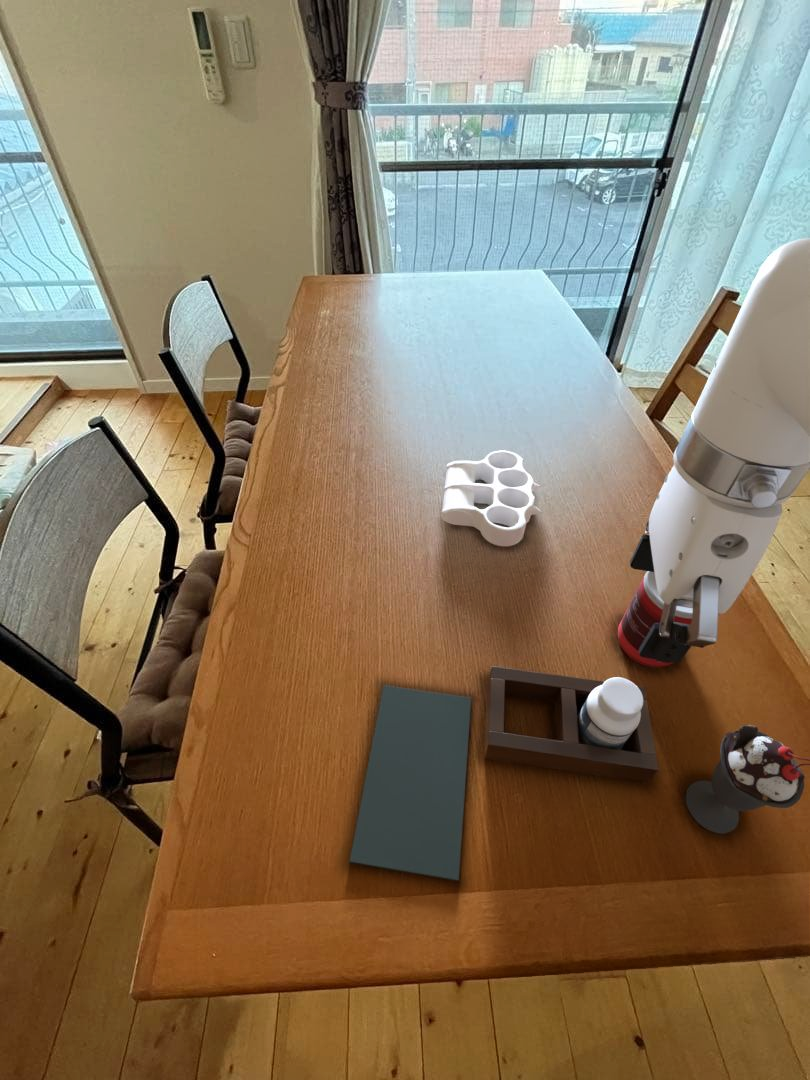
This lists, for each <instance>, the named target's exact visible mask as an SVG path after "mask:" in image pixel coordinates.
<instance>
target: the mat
mask: <svg viewBox="0 0 810 1080" xmlns="http://www.w3.org/2000/svg"><path fill="white" fill-rule="evenodd" d="M471 710H472V697H471V696H470V697H469V696H463V695H455V694H449V693H442V692H434V691H428V690H421V689H414V688H406V687H400V686H399V687H398V686H393V685H385V684H384V685H382V690H381V695H380V700H379V706H378V711H377V716H376V721H375V727H374V732H373V737H372V741H371V742H372V743H371V748H370V752H369V758H368V761H367V762H368V763H367V769H366V773H365V779H364V783H363V789H362V793H361V794H362V795H361V799H360V803H359V804H360V805H359V809H358V815H357V820H356V826H355V831H354V836H353V841H352V846H351V851H350V857H349V863H350V864H354V865H360V866H366V867H372V868H378V869H384V870H390V871H395V872H401V873H408V874H414V875H420V876H425V877H431V878H436V879H441V880H442V879H443V880H448V881H454V882H459V881H460V868H461V855H462V841H463V840H462V839H463V825H464V812H465V811H464V809H465V797H466V781H467V770H468V769H467V767H468V754H469V739H470V738H469V737H470V723H471Z"/></svg>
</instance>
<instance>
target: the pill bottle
mask: <svg viewBox="0 0 810 1080" xmlns="http://www.w3.org/2000/svg"><path fill="white" fill-rule="evenodd" d="M637 686H638V685H636V684H635V683H634V682H632V681H631V680H629V679H627V678H625V677H620V676H616V677H615V676H614V677H610V678H608V679H606V680H605V681H604V683H603V685H601V686H598V687H596V688H595V689H594V690H592V692H591V693H590V694H589V696H588V698H587V700H586V702H585V703H584V705H583V707H582V706H581V709H580V711H579V712H578V713H577V724H578V738H579V744H583V745H590V746H597V747H604V748H610V749H617V750H622V748H623V747H624V745H625V744H626V743H627V739H628V738H629V737H630V735H631V734H632V733H633V732H634V730H635V729H636V728H637V726H638V724H639V722H640V718H641V709H642V706H643V696H642V693H641V691H640V690H639V688H638V687H637Z"/></svg>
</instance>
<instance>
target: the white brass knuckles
mask: <svg viewBox="0 0 810 1080" xmlns="http://www.w3.org/2000/svg"><path fill="white" fill-rule="evenodd" d="M524 462H525V460H524V459H523V458H522V457H521V456H520V455H519V454H517V453H515V452H513V451H509V450H495V451H491V452H490V453H489V454H487V455H486V457H485V458H484V459H482V460H479V461H472V460H454V461H451V462H449V463H447V465H446V471H445V472H446V473H445V482H444V491H443V502H442V510H441V520H442V521H444V522H446V523H448V524H450V525H455V526H463V527H464V526H465V527H473V528H474V529H476V530H478V531H480V534H481V536H482V537H483V538H484V540H485V541H487V542H488V543H489V544H492V545H494V546H497V547H512V546H514V545H515V546H516V545H517V544H518V543H520V542H521V541H522V540H523V539H524V534H525V530H526V526H527V523H529V522H530V520H531V516H535V515H540V514H543V511H542V510H540V509H539V508H538V507H537V506H536V505H535V502H536V497H535V495H534V494H533V492H534V491H535V490H537V489H539V488H540V487H542V486H541V485H539V484H537V483H535V481H534V480H533V477H532V475H531V474H530V473H528V472H527V471H526V470H525V468H524ZM478 480H480V481H481V480H482V481H483V482H485V483H478V482H477V483H476V481H478ZM475 504H484V505H485V504H486V505H488V506H487V507H485V508H484V509H480V508H478V507H476V506H475ZM498 524H500V525H498ZM502 525H504V526H502ZM506 526H507V527H506Z"/></svg>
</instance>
